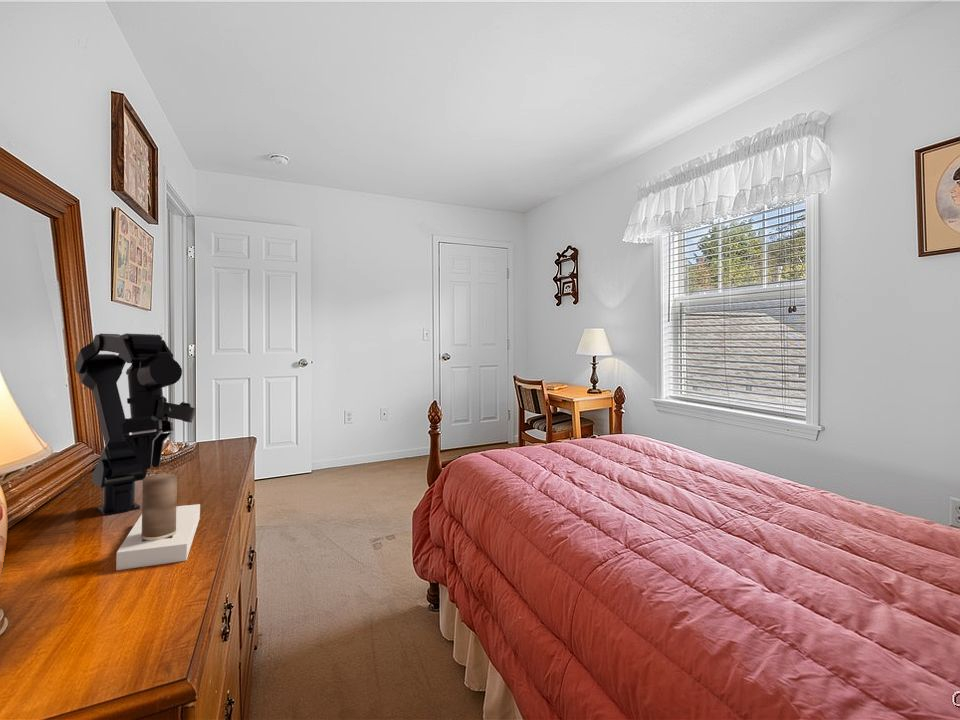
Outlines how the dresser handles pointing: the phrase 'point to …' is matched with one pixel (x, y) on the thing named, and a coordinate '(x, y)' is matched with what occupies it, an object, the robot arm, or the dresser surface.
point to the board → (160, 542)
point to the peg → (159, 507)
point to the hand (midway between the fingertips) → (152, 468)
